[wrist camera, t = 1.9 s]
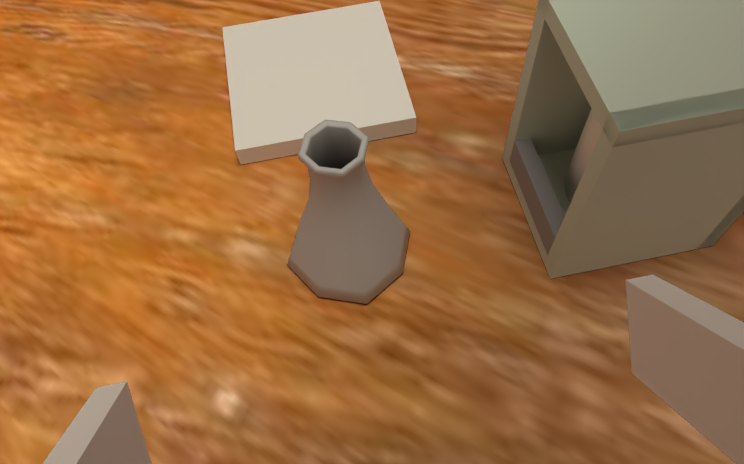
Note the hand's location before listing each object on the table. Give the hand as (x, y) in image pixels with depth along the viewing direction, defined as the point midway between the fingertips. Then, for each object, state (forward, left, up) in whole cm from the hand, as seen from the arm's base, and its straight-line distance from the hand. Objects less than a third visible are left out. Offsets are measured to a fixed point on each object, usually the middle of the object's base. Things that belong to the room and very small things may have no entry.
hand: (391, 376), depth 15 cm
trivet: (+12, -25, -16) cm, 32 cm away
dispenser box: (-9, -19, -16) cm, 26 cm away
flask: (+6, -12, -17) cm, 21 cm away
